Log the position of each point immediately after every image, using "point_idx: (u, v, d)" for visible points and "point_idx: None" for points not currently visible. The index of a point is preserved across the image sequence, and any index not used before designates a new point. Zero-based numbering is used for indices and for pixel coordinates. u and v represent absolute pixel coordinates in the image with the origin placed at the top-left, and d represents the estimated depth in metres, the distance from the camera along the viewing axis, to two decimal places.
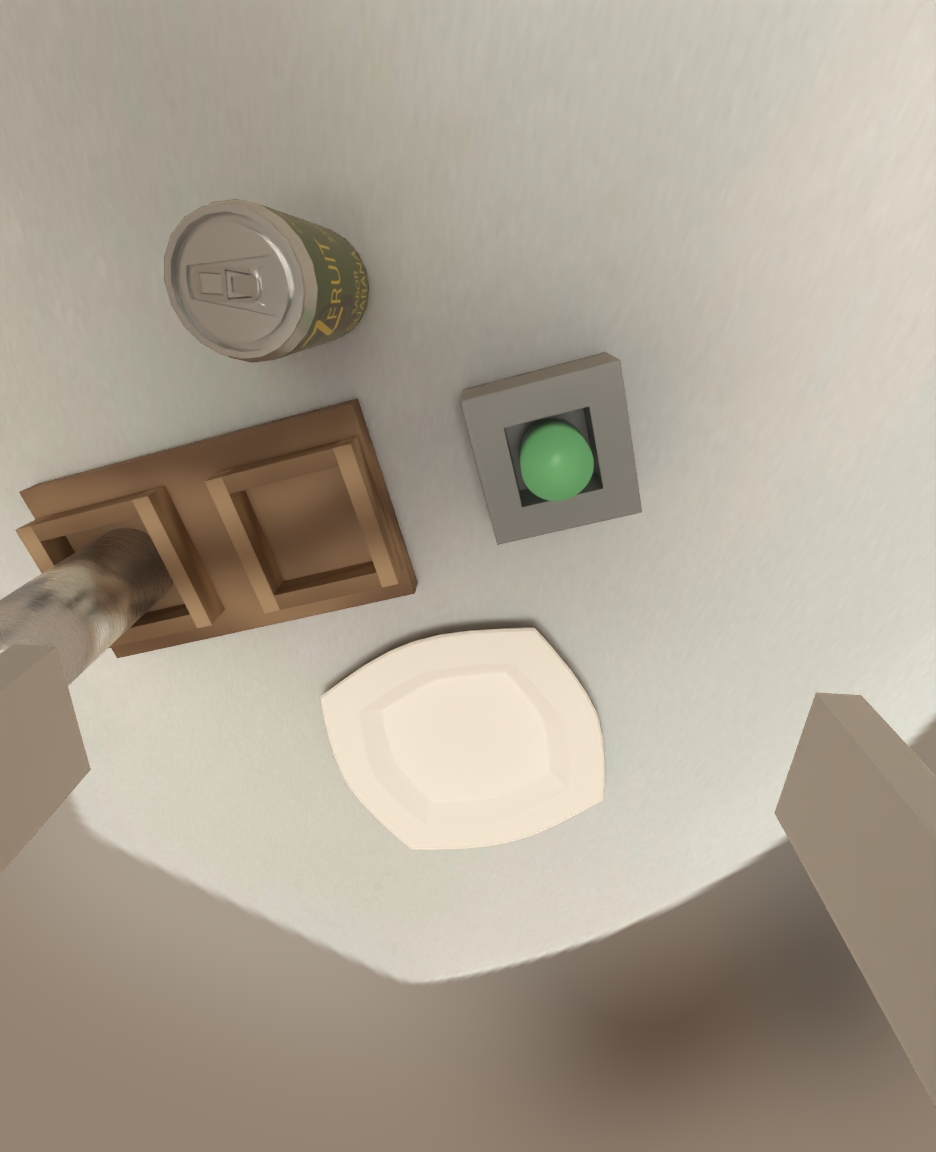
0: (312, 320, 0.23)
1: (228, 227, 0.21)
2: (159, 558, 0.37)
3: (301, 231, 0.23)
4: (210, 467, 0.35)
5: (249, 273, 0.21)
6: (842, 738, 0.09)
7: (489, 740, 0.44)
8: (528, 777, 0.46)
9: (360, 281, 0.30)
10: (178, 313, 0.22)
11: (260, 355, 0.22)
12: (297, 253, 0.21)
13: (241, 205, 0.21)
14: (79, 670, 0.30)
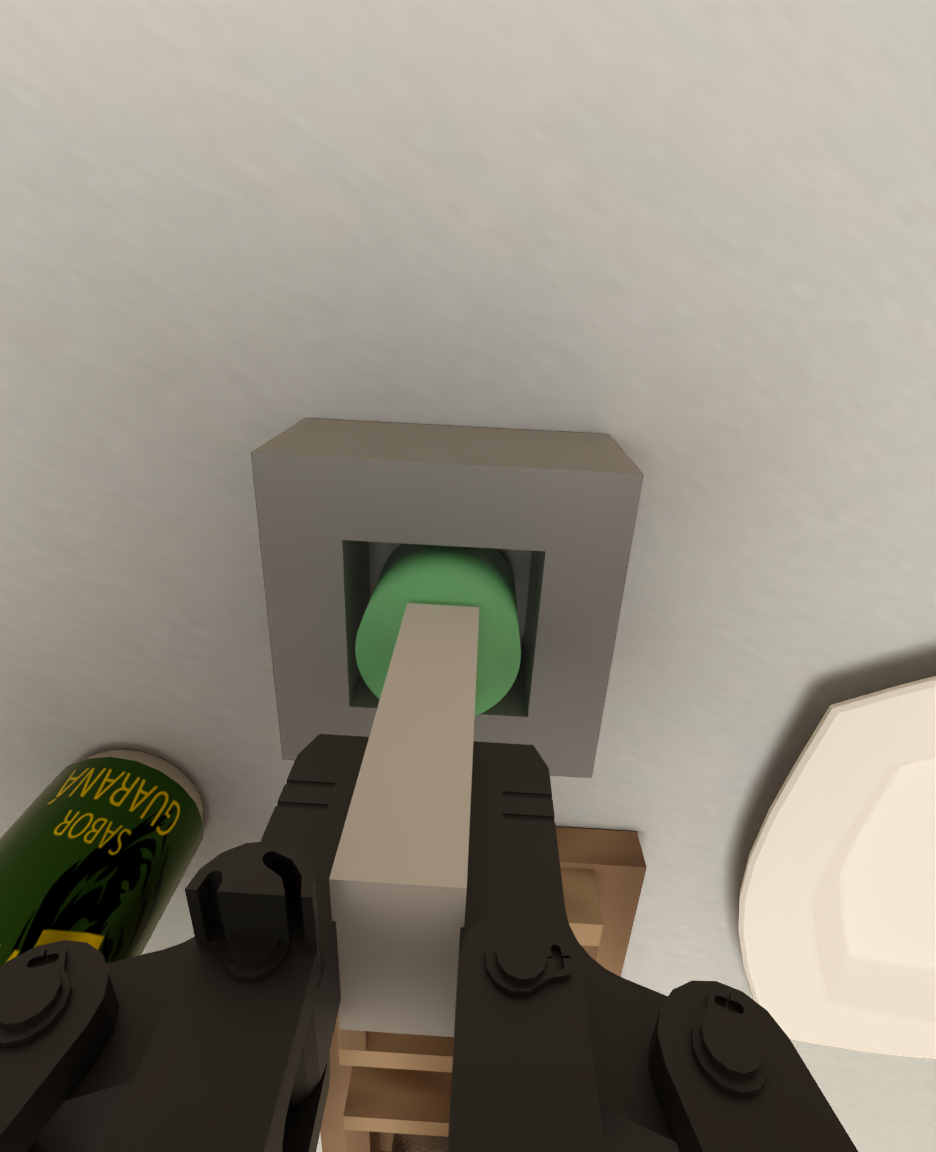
0: None
1: None
2: None
3: None
4: None
5: None
6: (439, 635, 0.12)
7: None
8: None
9: (93, 802, 0.18)
10: None
11: None
12: None
13: None
14: None
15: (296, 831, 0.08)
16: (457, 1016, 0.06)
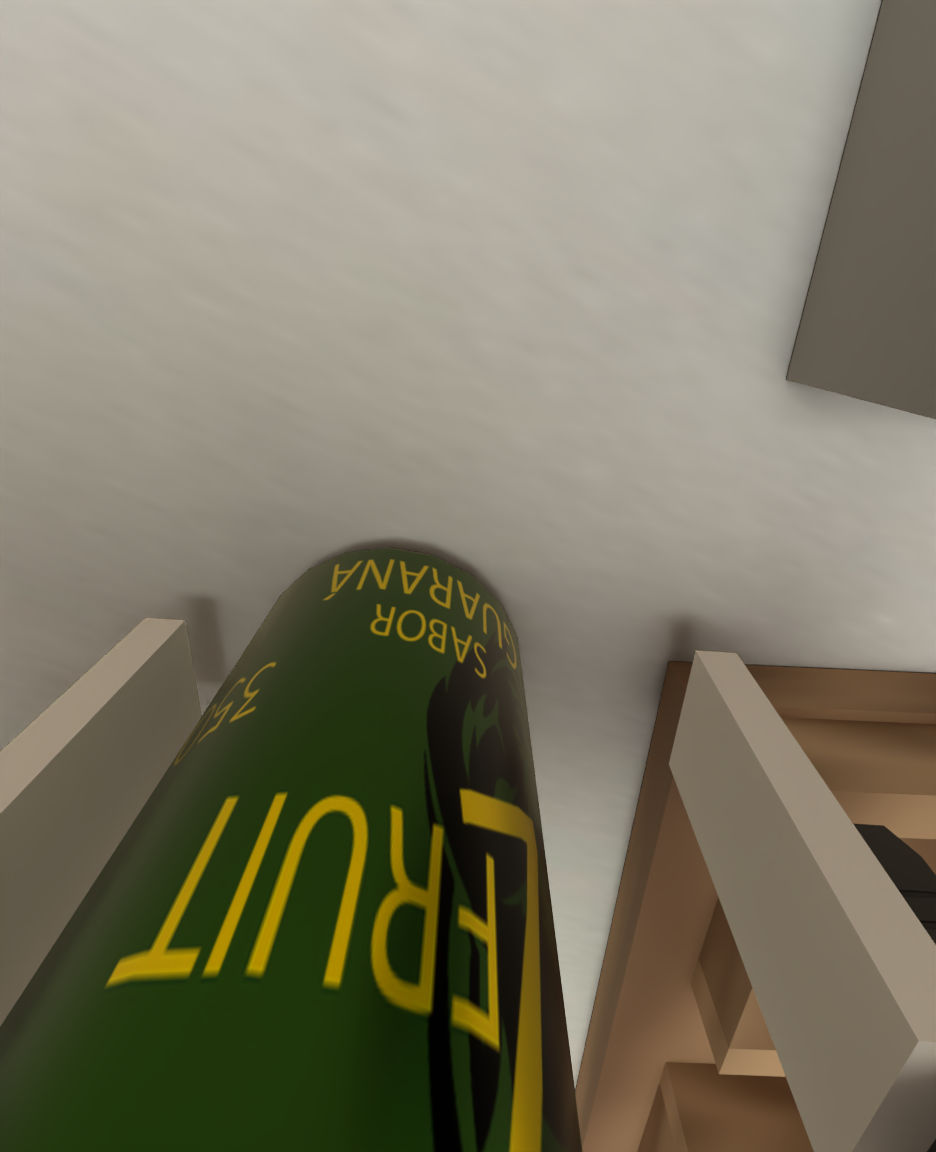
0: None
1: None
2: None
3: None
4: (674, 993, 0.16)
5: None
6: (710, 688, 0.10)
7: None
8: None
9: (407, 597, 0.10)
10: None
11: None
12: None
13: None
14: None
15: None
16: None
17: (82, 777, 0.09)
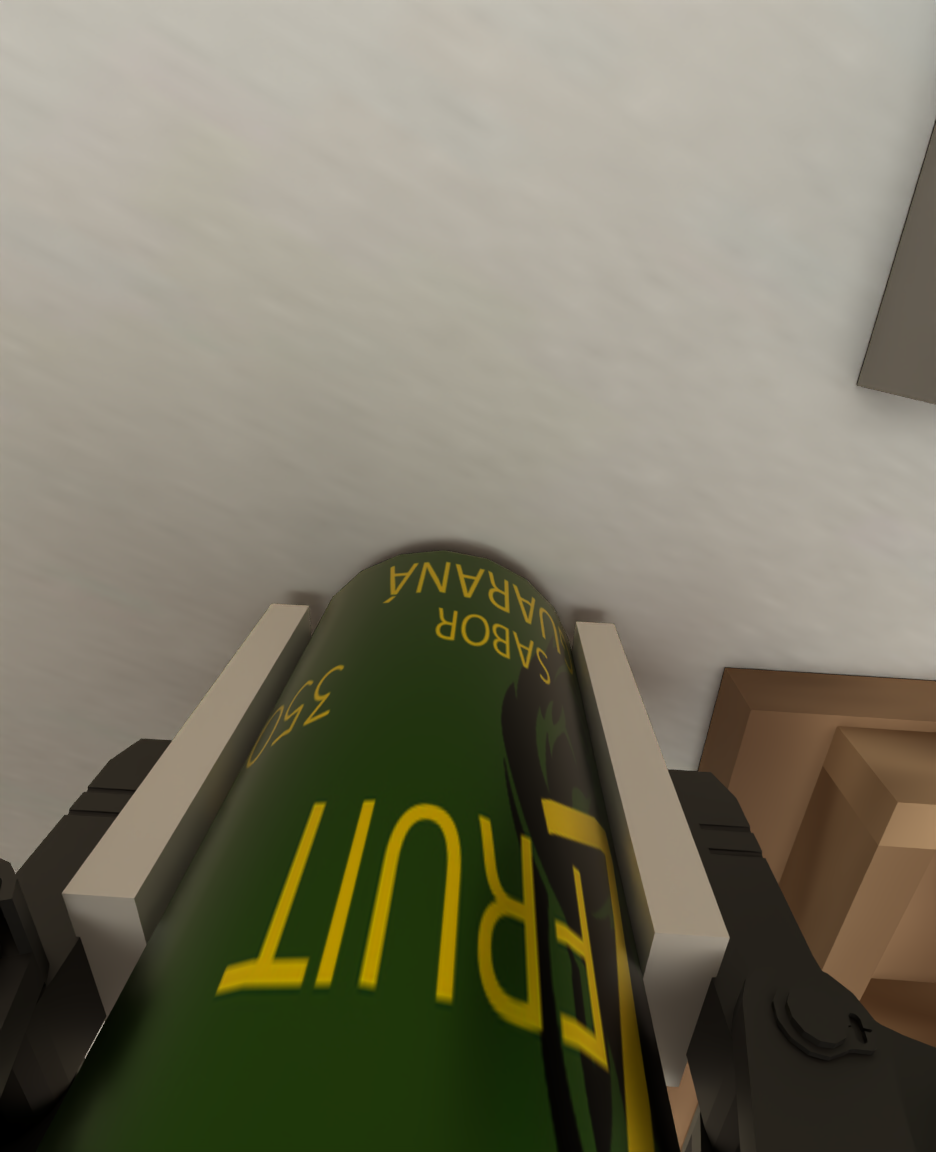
0: None
1: None
2: None
3: None
4: None
5: None
6: (581, 654, 0.11)
7: None
8: None
9: (467, 601, 0.10)
10: None
11: None
12: None
13: None
14: None
15: (76, 841, 0.08)
16: (748, 1060, 0.05)
17: (251, 746, 0.09)
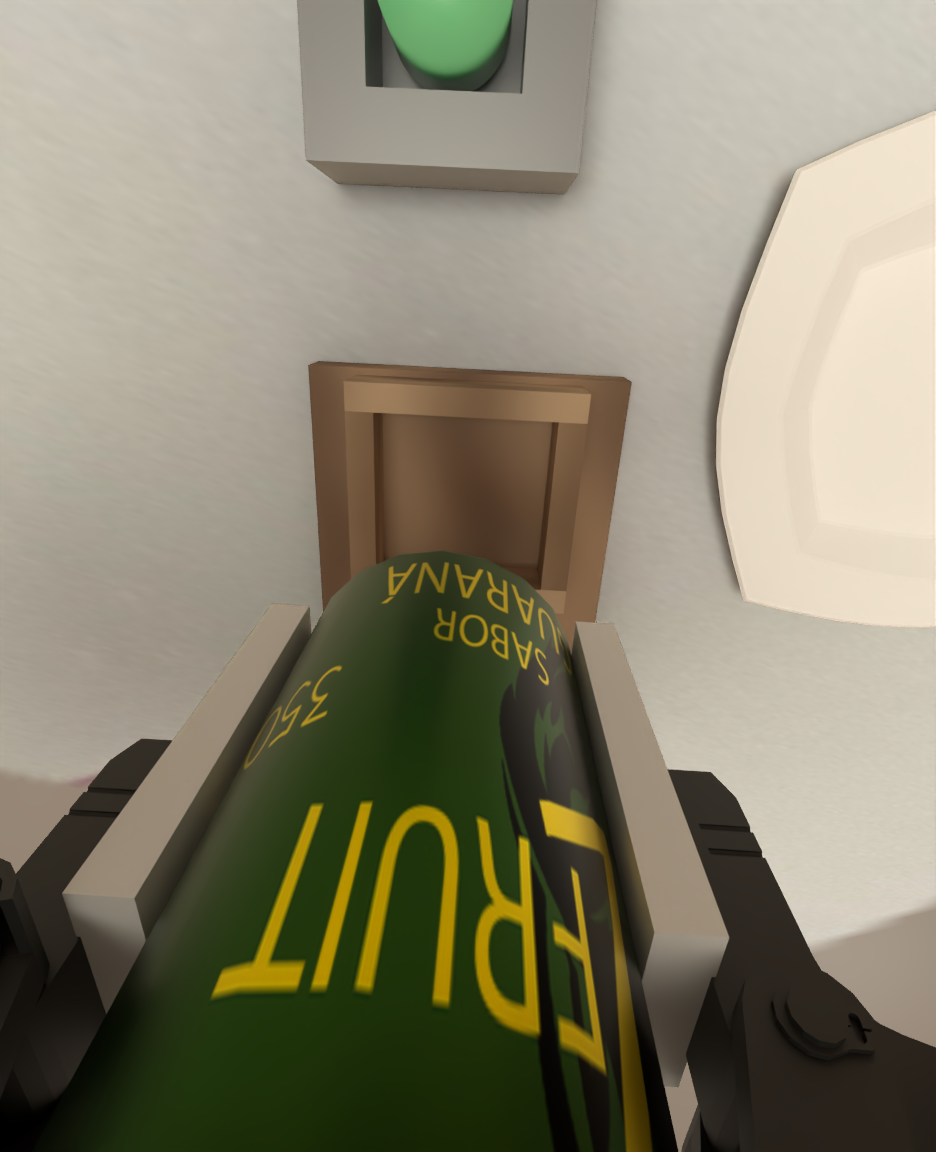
0: None
1: None
2: None
3: None
4: None
5: None
6: (580, 654, 0.11)
7: None
8: None
9: (466, 601, 0.10)
10: None
11: None
12: None
13: None
14: None
15: (76, 841, 0.08)
16: (748, 1060, 0.05)
17: None
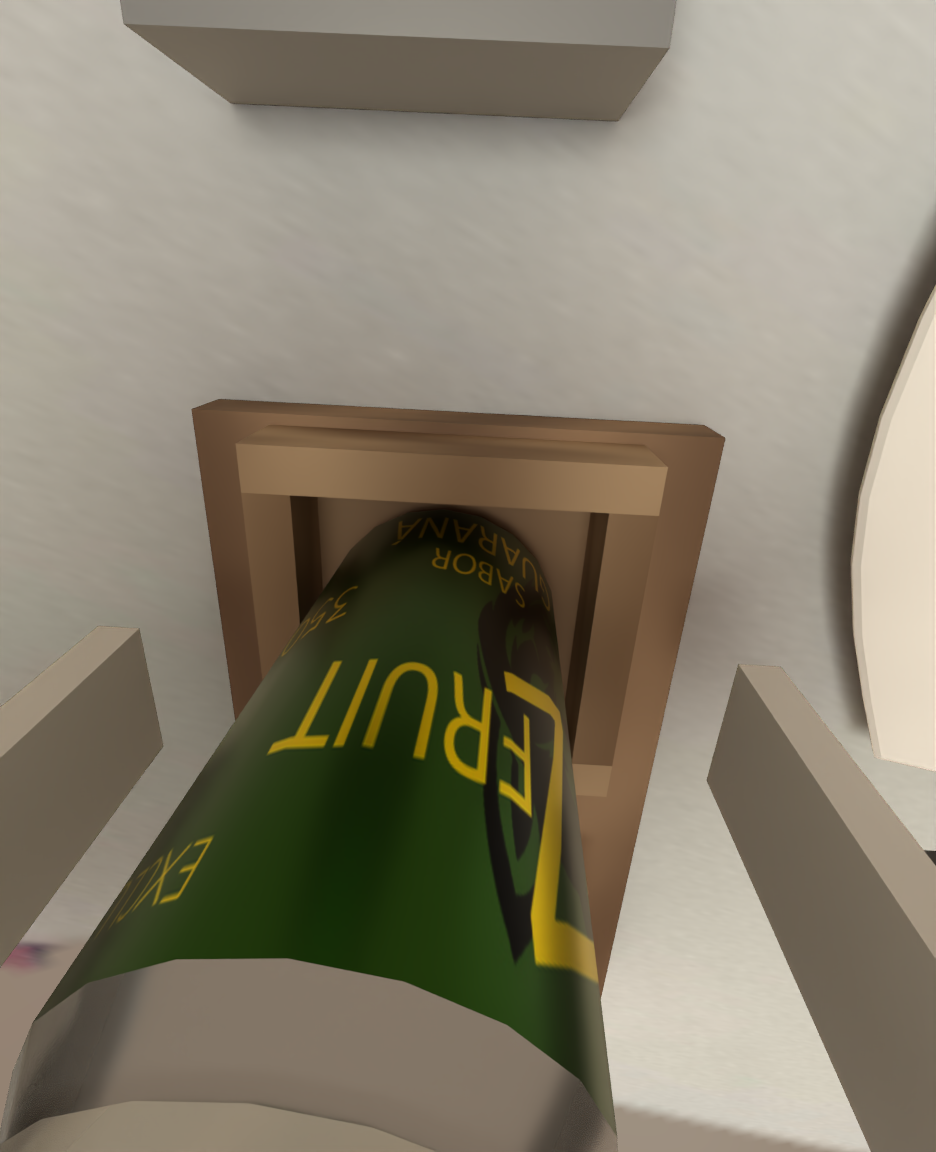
0: (532, 1040, 0.05)
1: None
2: None
3: (207, 837, 0.06)
4: None
5: None
6: (757, 704, 0.10)
7: None
8: None
9: (460, 545, 0.12)
10: None
11: None
12: (208, 1058, 0.04)
13: (7, 1111, 0.05)
14: None
15: None
16: None
17: (16, 795, 0.08)
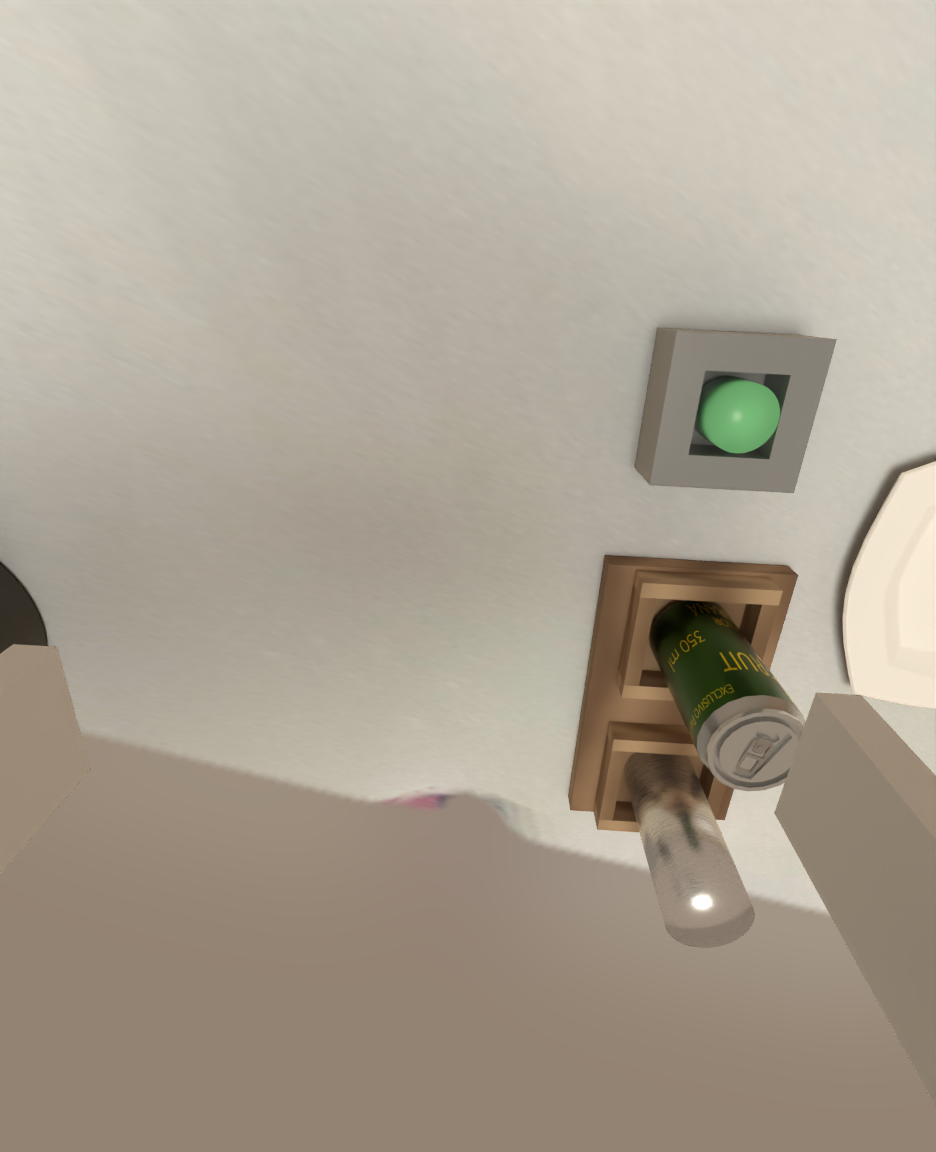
0: (797, 708, 0.30)
1: (727, 741, 0.29)
2: None
3: (728, 684, 0.31)
4: (610, 685, 0.43)
5: (757, 740, 0.29)
6: (842, 738, 0.09)
7: None
8: None
9: (716, 615, 0.37)
10: (754, 789, 0.31)
11: None
12: (758, 705, 0.29)
13: (712, 724, 0.30)
14: (732, 864, 0.36)
15: None
16: None
17: None
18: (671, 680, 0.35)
